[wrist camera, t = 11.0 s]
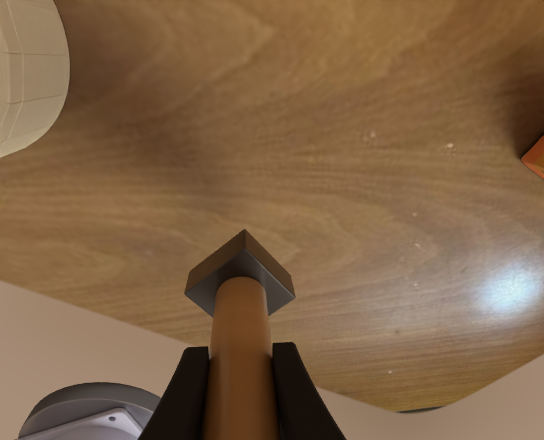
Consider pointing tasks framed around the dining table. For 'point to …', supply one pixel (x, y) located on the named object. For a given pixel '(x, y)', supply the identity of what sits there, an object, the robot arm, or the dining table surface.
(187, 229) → the dining table surface
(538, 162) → the supplement box
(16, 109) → the cream ceramic ramekin
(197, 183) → the dining table surface
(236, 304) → the wooden handle stamp
